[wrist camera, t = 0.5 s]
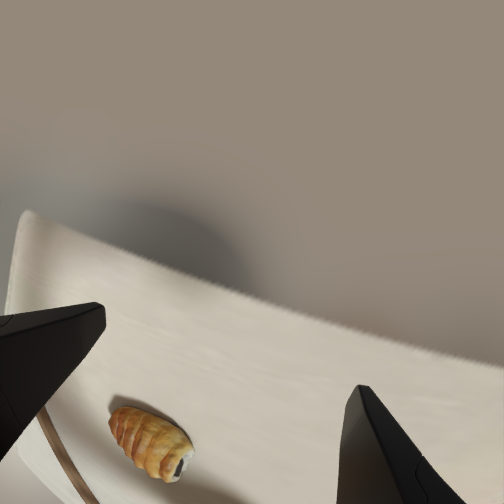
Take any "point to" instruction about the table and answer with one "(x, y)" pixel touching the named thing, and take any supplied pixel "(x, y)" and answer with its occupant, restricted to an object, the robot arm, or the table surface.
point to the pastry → (151, 443)
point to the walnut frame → (64, 457)
